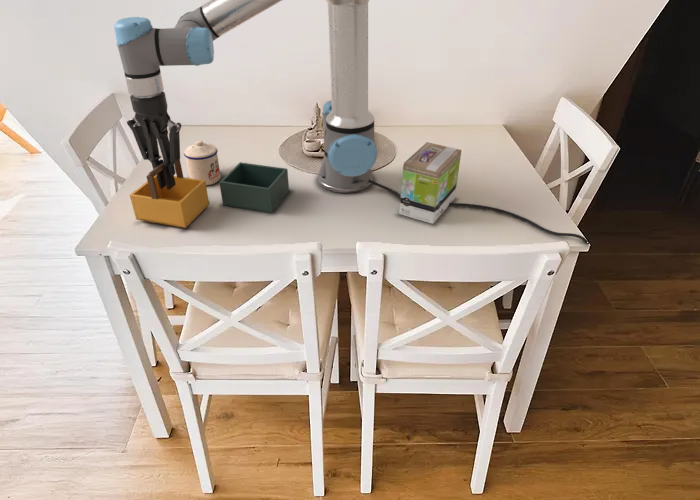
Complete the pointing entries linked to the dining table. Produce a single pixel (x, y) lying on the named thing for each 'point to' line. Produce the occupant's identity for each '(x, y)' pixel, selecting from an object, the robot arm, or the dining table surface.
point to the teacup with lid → (203, 162)
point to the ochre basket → (170, 199)
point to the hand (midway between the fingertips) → (167, 186)
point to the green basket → (254, 187)
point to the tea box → (429, 182)
